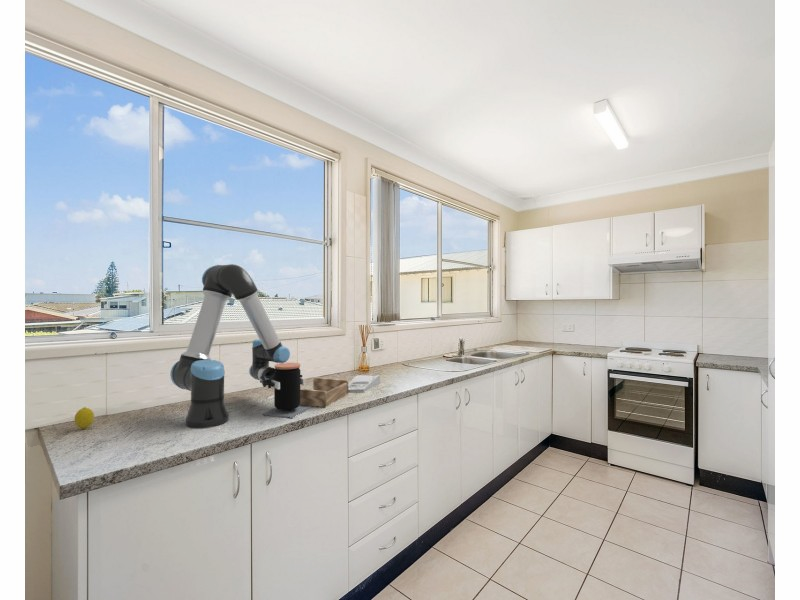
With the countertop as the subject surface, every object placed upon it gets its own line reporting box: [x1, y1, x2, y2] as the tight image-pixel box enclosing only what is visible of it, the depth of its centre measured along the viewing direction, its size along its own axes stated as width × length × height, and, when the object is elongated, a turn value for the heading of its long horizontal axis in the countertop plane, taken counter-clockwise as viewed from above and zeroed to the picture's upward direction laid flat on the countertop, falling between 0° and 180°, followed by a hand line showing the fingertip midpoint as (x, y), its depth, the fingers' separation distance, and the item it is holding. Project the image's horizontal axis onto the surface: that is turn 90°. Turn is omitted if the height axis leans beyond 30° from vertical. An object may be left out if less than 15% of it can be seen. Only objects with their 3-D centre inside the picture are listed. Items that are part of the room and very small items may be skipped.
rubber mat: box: [262, 405, 311, 419], centre depth 164 cm, size 14×14×1 cm
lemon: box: [74, 406, 95, 430], centre depth 141 cm, size 6×6×8 cm
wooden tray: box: [299, 377, 349, 408], centre depth 185 cm, size 19×24×7 cm
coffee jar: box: [273, 362, 301, 410], centre depth 164 cm, size 11×11×18 cm
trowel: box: [348, 374, 381, 393], centre depth 208 cm, size 28×16×5 cm, turn 142°
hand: (292, 383), depth 161 cm, fingers closed on coffee jar, 11 cm apart
